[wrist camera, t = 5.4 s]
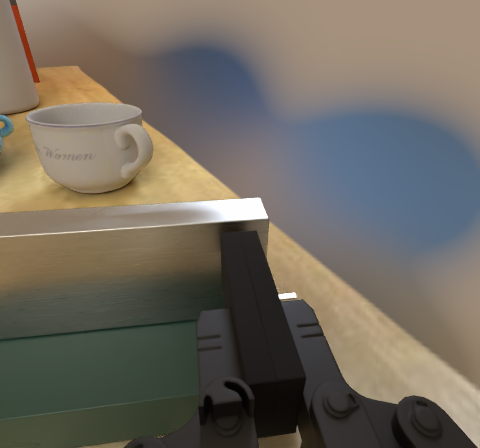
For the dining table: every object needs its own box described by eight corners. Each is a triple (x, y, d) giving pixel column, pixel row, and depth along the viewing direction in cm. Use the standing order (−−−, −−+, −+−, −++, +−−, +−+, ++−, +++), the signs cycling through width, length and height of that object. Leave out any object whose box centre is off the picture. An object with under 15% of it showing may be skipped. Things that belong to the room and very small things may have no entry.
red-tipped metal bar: (256, 287, 20) (261, 192, 16) (262, 313, 18) (270, 213, 15) (-2, 311, 18) (-57, 210, 15) (-21, 342, 16) (-88, 237, 13)
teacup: (35, 180, 38) (9, 108, 34) (122, 156, 45) (110, 92, 40) (89, 229, 30) (65, 142, 26) (186, 191, 36) (180, 116, 32)
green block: (261, 245, 28) (263, 213, 27) (352, 518, 13) (370, 484, 11) (31, 262, 26) (17, 228, 24) (-178, 617, 11) (-255, 594, 9)
